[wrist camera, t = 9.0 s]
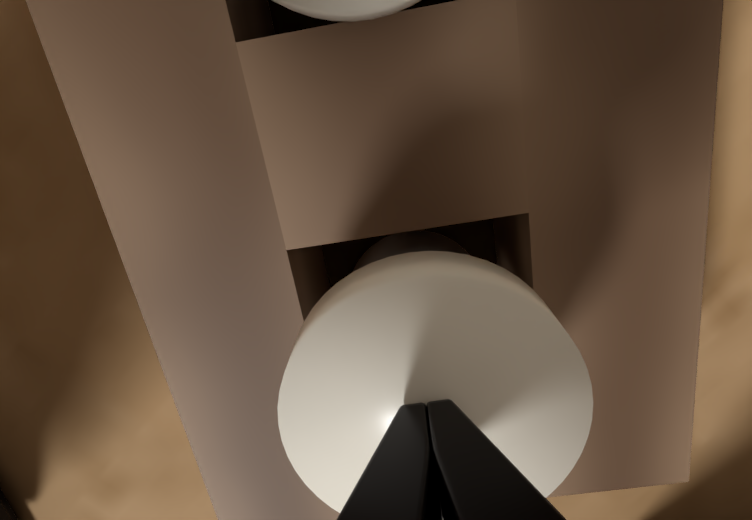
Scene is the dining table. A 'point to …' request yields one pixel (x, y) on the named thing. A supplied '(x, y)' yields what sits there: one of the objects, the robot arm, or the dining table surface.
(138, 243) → the mount
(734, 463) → the dining table surface
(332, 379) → the knob
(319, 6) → the knob middle
